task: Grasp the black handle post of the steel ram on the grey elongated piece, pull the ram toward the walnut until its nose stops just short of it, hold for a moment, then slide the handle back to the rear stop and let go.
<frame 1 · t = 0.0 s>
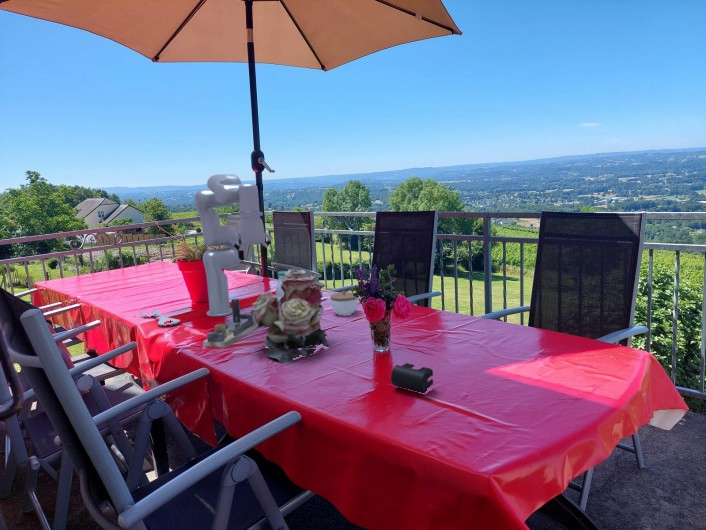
hand: (253, 258, 182), 31 cm above the table, tool pointing down, fingers open, 9 cm apart
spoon: (160, 321, 214), on the table
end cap: (412, 391, 128), on the table
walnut: (221, 337, 177), point 2 cm above the table, touching grey elongated piece
grey elongated piece: (231, 336, 185), on the table
rose bouquet: (295, 350, 166), on the table
lidded bowl: (345, 314, 211), on the table
milk bottle: (285, 313, 219), on the table
ram: (235, 314, 188), point 8 cm above the table, slide at 2.0 cm
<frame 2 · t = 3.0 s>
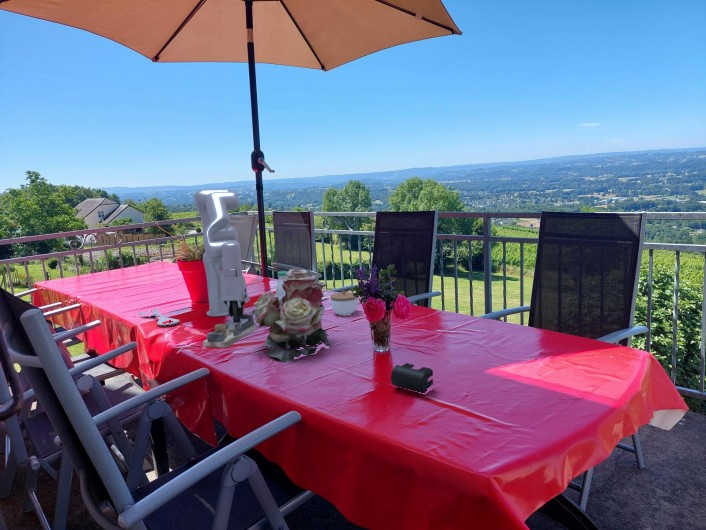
hand: (236, 315, 189), 7 cm above the table, tool pointing down, fingers closed on ram, 3 cm apart
ram: (235, 314, 188), point 8 cm above the table, slide at 2.0 cm, touching gripper
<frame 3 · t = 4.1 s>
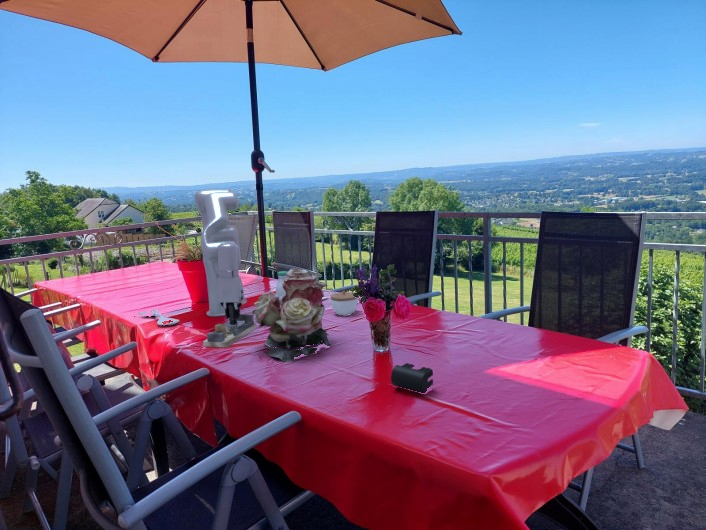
hand: (232, 317, 186), 7 cm above the table, tool pointing down, fingers closed on ram, 3 cm apart
ram: (231, 316, 185), point 8 cm above the table, slide at 4.9 cm, touching gripper
everything else where it was.
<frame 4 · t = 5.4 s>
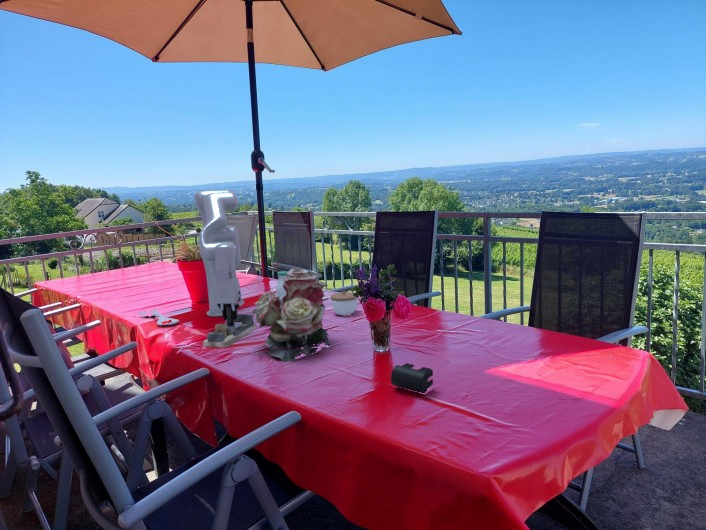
hand: (230, 319, 184), 7 cm above the table, tool pointing down, fingers closed on ram, 3 cm apart
ram: (228, 317, 183), point 8 cm above the table, slide at 7.1 cm, touching gripper
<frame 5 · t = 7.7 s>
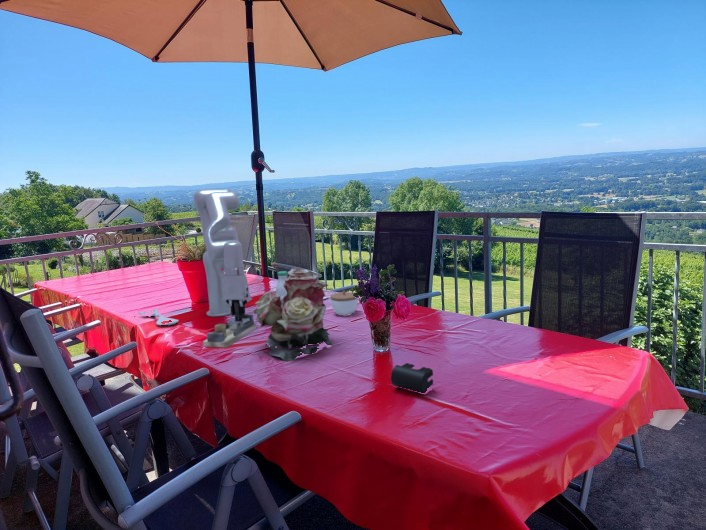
hand: (238, 314, 190), 7 cm above the table, tool pointing down, fingers closed on ram, 3 cm apart
ram: (236, 313, 189), point 8 cm above the table, slide at 0.4 cm, touching gripper
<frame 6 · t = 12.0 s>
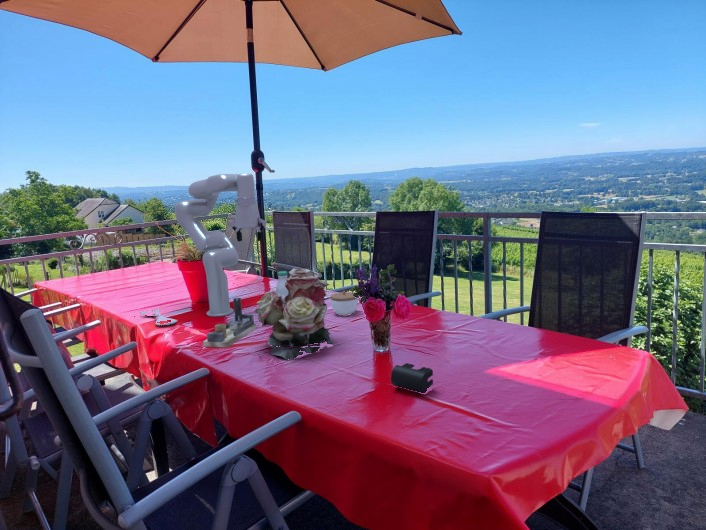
hand: (249, 241, 202), 36 cm above the table, tool pointing down, fingers open, 9 cm apart
ram: (237, 313, 189), point 8 cm above the table, slide at 0.3 cm
at the end: ram slide at 0.3 cm; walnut moved 0.0 cm from its start; the gripper is holding nothing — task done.
